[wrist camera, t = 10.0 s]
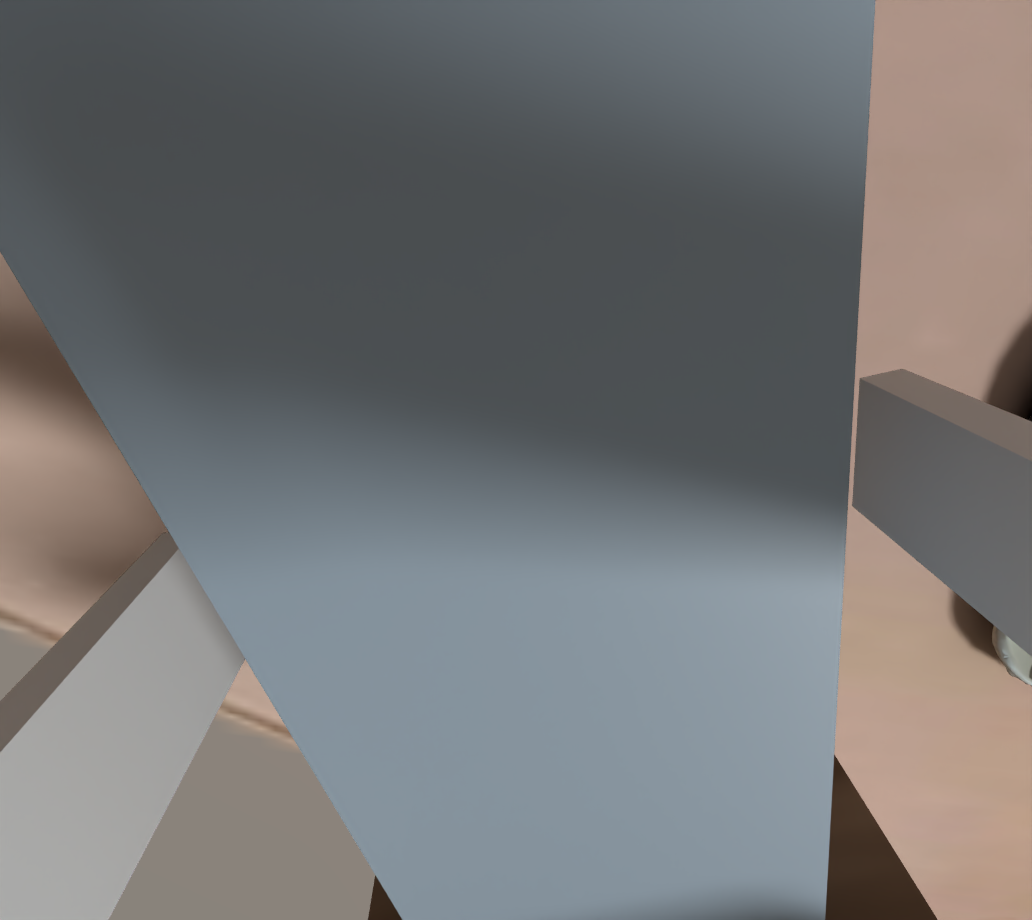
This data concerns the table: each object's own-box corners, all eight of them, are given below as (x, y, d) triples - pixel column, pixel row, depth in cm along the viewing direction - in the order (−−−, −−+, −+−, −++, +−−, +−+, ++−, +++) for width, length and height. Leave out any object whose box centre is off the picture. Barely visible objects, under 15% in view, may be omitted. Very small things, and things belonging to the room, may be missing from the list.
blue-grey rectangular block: (126, 54, 7) (-198, -76, 4) (691, -100, 6) (897, -399, 3) (463, 821, 14) (457, 1010, 10) (743, 769, 13) (824, 948, 10)
